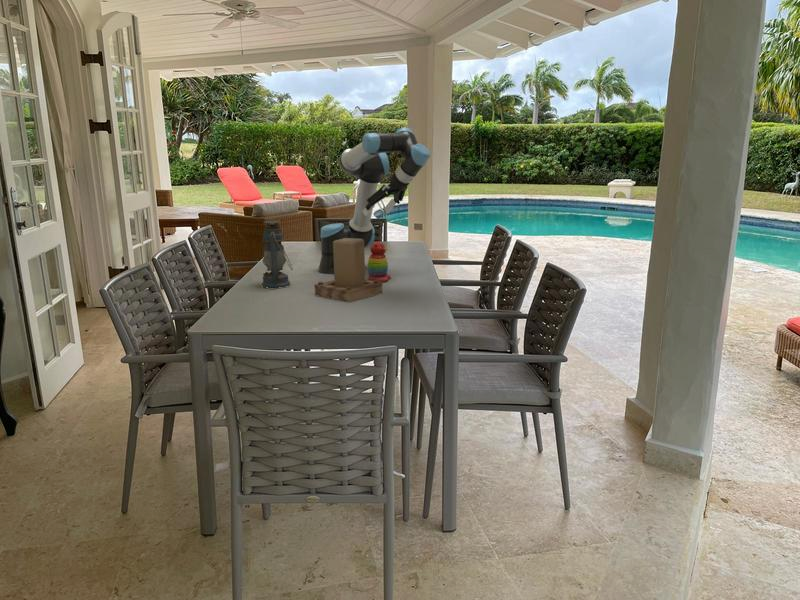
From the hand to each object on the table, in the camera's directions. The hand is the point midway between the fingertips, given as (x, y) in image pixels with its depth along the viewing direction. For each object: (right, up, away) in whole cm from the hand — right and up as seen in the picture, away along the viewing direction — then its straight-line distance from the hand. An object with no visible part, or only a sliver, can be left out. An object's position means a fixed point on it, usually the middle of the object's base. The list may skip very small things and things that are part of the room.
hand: (375, 212), depth 256 cm
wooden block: (-11, -32, -3) cm, 34 cm away
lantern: (-45, -31, +16) cm, 57 cm away
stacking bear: (+1, -28, +25) cm, 38 cm away
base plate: (-11, -35, -2) cm, 36 cm away
